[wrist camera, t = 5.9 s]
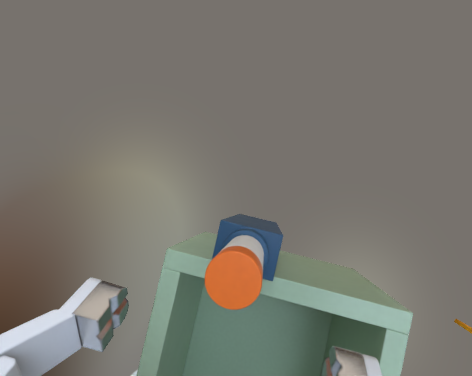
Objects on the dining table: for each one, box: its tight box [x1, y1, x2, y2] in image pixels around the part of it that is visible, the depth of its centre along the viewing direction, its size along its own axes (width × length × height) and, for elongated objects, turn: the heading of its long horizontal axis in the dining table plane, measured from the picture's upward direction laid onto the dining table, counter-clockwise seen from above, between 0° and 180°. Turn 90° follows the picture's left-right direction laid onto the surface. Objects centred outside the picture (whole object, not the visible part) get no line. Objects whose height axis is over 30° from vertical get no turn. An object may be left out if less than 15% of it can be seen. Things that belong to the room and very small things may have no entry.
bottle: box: [205, 214, 283, 310], centre depth 21 cm, size 20×4×3 cm, turn 173°
